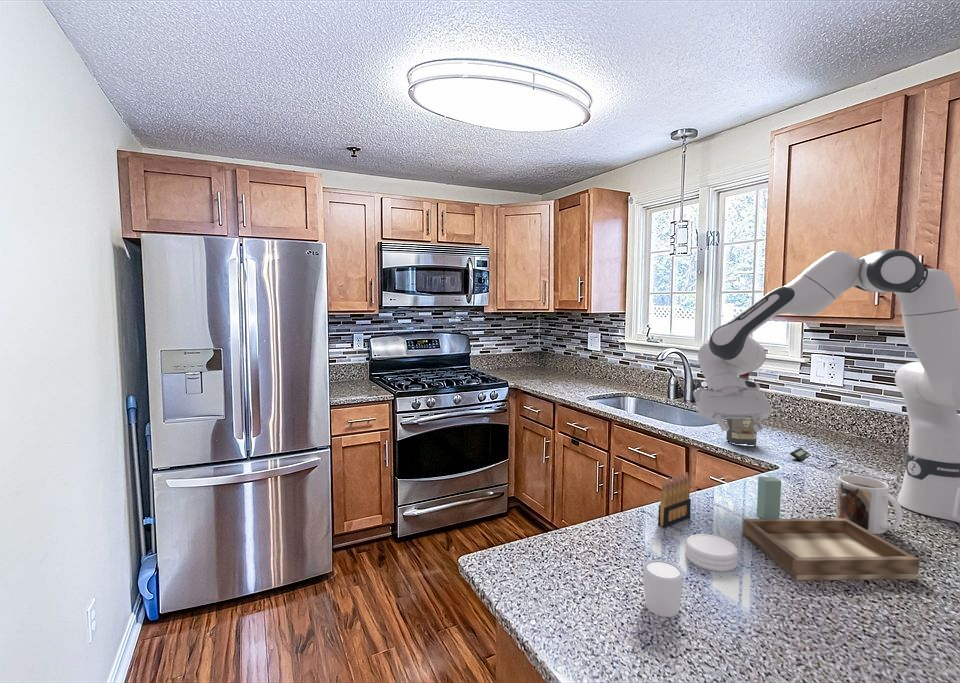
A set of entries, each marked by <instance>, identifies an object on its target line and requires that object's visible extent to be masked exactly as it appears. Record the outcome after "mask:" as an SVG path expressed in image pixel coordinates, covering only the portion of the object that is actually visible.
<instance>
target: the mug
mask: <svg viewBox="0 0 960 683" xmlns="http://www.w3.org/2000/svg"><path fill="white" fill-rule="evenodd" d="M836 489H837V491H836V503H835V504H836V508H835V518H846V519H848V520H850V521H852V522H853V523H855V524H857V525H859V526H860V527H862V528H864V529H866V530H868V531H869V532H871V533H873V534H875V535H881V534H884V533H886V532H887V531H890V530H895V529H897V528H898V527H900V525H901V524H902V522H903V517H904V514H903V513H904V512H903V509H902V506H901V505H900V504H899V502H898V501H897V498H895V496H893V495H891V494H889V492H890V486H889V484H888V483H886V482H885V481H882V480H879V479H877V478H874V477H870V476H865V475H858V474H841V475H839V476H837V488H836ZM889 502H890V503H891V505H892V506H893V508H894V511H895V519H894V522H893V523H892V524H891V525H887V524H888V509H889Z"/></svg>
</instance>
